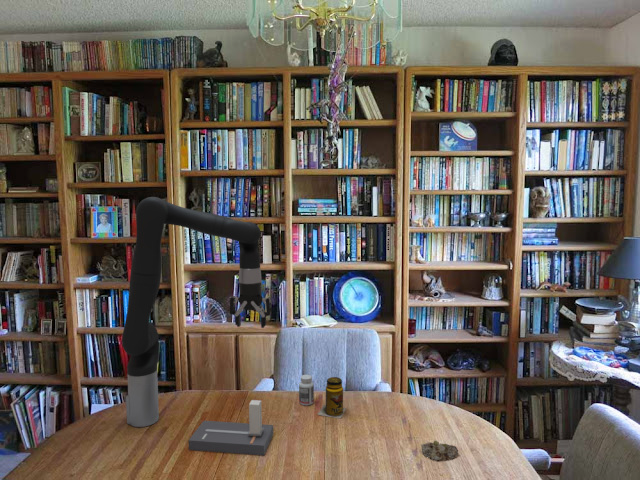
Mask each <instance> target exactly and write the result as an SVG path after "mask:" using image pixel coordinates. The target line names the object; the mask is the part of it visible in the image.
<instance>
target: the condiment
mask: <svg viewBox="0 0 640 480" xmlns="http://www.w3.org/2000/svg"><path fill="white" fill-rule="evenodd" d="M346 409H347V408H345V407H344V387H343V381H342V379H341V378H340V377H339V376H338V377H337V376H331V377H329V378H327V379H326V386H325V404H323V405H322V407H321V408H320V410H319V411H318V412H317V415H318V416H324V417H330V418H336V419H342V417H343V416H344V414H345V412H346Z"/></svg>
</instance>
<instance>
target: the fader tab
mask: <svg viewBox="0 0 640 480" xmlns="http://www.w3.org/2000/svg"><path fill="white" fill-rule="evenodd" d="M262 409H263V408H262V400H257V399H251V400H250V402H249V404H248V410H249V411H248V414H249V415H248V416H249V417H248V418H249V419H248V420H249V421H248V422H249V425H250V430H249V432H248V436H261V434H262V432H263V430H264V428H262V423H263V422H262V420H263V419H262V418H263V417H262V416H263V415H262V413H263V411H262Z"/></svg>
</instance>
